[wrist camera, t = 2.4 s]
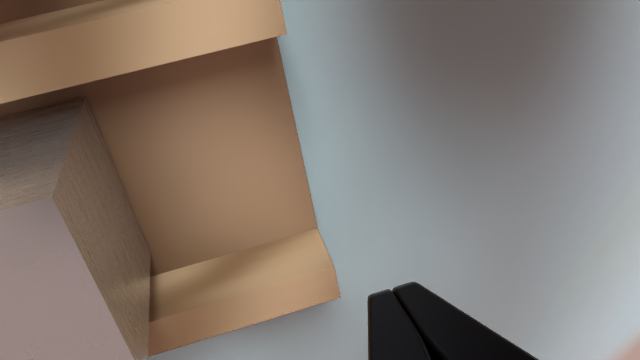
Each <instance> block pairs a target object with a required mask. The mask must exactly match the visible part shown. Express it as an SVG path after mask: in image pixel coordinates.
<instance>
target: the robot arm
mask: <svg viewBox="0 0 640 360" xmlns="http://www.w3.org/2000/svg"><path fill="white" fill-rule="evenodd" d="M368 360H538V359H537V358H535V357H533V356H532V355H530V354H529V353H527V352H526V351H524V350H522V349H521V348H519V347H518V346H516V345H515V344H513V343H511V342H510V341H508V340H507V339H505V338H504V337H502V336H500V335H499V334H497V333H496V332H494V331H493V330H491V329H489V328H488V327H486V326H485V325H483V324H481V323H480V322H478V321H477V320H475V319H474V318H472V317H470V316H469V315H467V314H466V313H464V312H463V311H461V310H459V309H458V308H456V307H455V306H453V305H452V304H450V303H448V302H447V301H445V300H444V299H442V298H441V297H439V296H437V295H436V294H434V293H433V292H431V291H429V290H428V289H426V288H425V287H423V286H422V285H420V284H418V283H416V282H410V283H406V284H403V285H400V286H397V287H394V288H393V290H392V291H391V290H389V289H387V290H384V291H380V292H377V293H374V294H371V295H369V296H368Z"/></svg>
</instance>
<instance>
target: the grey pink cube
mask: <svg viewBox="0 0 640 360" xmlns="http://www.w3.org/2000/svg"><path fill="white" fill-rule="evenodd" d="M150 263H151V251H150V249H149V247H148V244H147V242H146V239H145V237H144V235H143V232H142V230H141V228H140V225H139V223H138V220H137V218H136V216H135V213H134V211H133V208H132V206H131V204H130V201H129V199H128V197H127V194H126V192H125V189H124V187H123V185H122V182H121V180H120V178H119V175H118V173H117V170H116V168H115V166H114V163H113V161H112V159H111V156H110V154H109V151H108V149H107V147H106V144H105V142H104V140H103V137H102V135H101V132H100V130H99V128H98V125H97V123H96V120H95V118H94V116H93V113H92V111H91V109H90V106H89V104H88V101H87V99H86V97H82V98H78V99H74V100H70V101H66V102H62V103H58V104H54V105H50V106H46V107H42V108H38V109H34V110H30V111H26V112H22V113H17V114H13V115H9V116H5V117H1V118H0V360H148V336H149V299H150Z"/></svg>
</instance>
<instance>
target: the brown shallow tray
mask: <svg viewBox="0 0 640 360" xmlns="http://www.w3.org/2000/svg"><path fill="white" fill-rule="evenodd" d="M285 34H287V32H286V27H285V22H284V17H283V12H282V7H281V2H280V0H0V118H1V117H5V116H9V115H13V114H17V113H22V112H26V111H30V110H34V109H38V108H42V107H46V106H50V105H54V104H58V103H62V102H66V101H70V100H74V99H78V98H82V97H86V99H87V101H88V104H89V106H90V109H91V111H92V113H93V116H94V118H95V120H96V123H97V125H98V128H99V130H100V132H101V135H102V137H103V140H104V142H105V144H106V147H107V149H108V151H109V154H110V156H111V159H112V161H113V163H114V166H115V168H116V170H117V173H118V175H119V178H120V180H121V182H122V185H123V187H124V189H125V192H126V194H127V197H128V199H129V201H130V204H131V206H132V208H133V211H134V213H135V216H136V218H137V220H138V223H139V225H140V228H141V230H142V232H143V235H144V237H145V239H146V242H147V244H148V247H149V249H150V251H151V263H150V299H149V336H148V357H149V356H152V355H155V354H159V353H162V352H165V351H168V350H172V349H175V348H178V347H181V346H185V345H188V344H191V343H194V342H198V341H201V340H204V339H207V338H211V337H214V336H217V335H220V334H224V333H227V332H230V331H233V330H237V329H240V328H243V327H246V326H250V325H253V324H256V323H259V322H263V321H266V320H269V319H272V318H276V317H279V316H282V315H285V314H289V313H292V312H295V311H298V310H302V309H305V308H308V307H311V306H315V305H318V304H321V303H324V302H328V301H331V300H334V299H337V298H340V292H339V287H338V283H337V278H336V273H335V268H334V265H333V263H332V260H331V258H330V256H329V253H328V251H327V249H326V247H325V244H324V242H323V240H322V237H321V235H320V233H319V230H318V228H317V223H316V219H315V214H314V209H313V204H312V200H311V195H310V190H309V186H308V181H307V176H306V172H305V167H304V162H303V158H302V153H301V148H300V144H299V139H298V134H297V130H296V125H295V120H294V116H293V111H292V106H291V102H290V97H289V92H288V88H287V83H286V78H285V74H284V69H283V64H282V59H281V55H280V50H279V45H278V41H277V36H281V35H285Z"/></svg>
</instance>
